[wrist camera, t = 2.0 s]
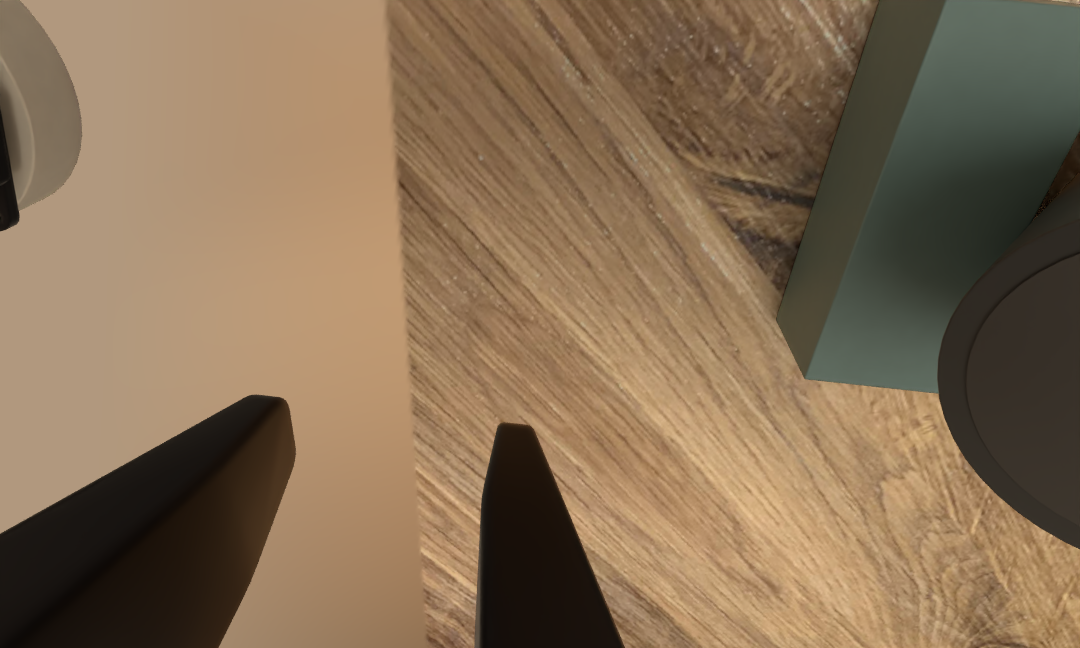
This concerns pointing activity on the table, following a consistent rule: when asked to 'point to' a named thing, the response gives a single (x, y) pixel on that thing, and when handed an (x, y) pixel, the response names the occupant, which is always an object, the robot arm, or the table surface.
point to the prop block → (929, 180)
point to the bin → (1023, 371)
